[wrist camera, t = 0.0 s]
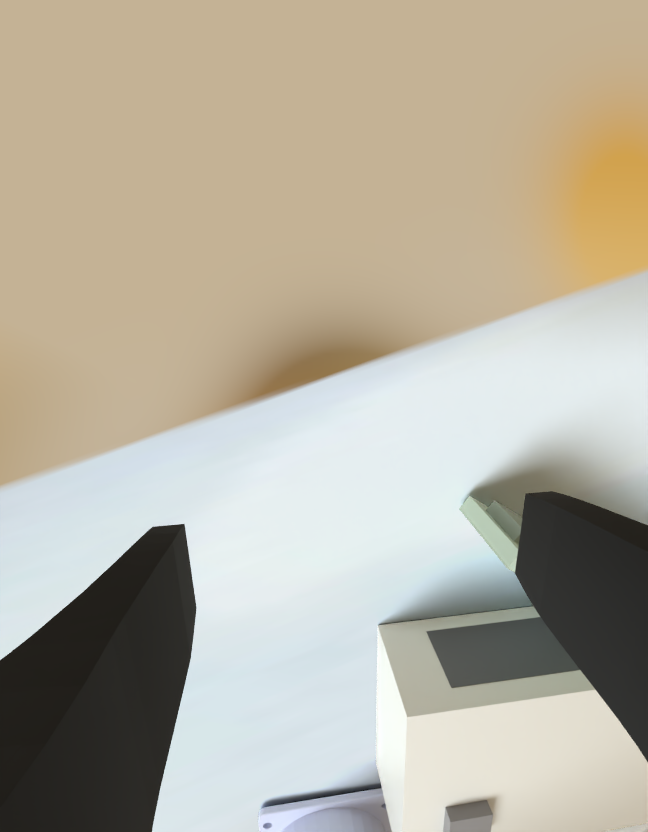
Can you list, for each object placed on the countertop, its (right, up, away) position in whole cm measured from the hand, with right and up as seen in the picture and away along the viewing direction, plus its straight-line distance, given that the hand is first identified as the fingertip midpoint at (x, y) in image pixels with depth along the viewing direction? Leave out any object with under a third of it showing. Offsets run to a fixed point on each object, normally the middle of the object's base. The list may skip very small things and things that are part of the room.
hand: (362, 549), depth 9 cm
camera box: (+9, -12, +16) cm, 22 cm away
